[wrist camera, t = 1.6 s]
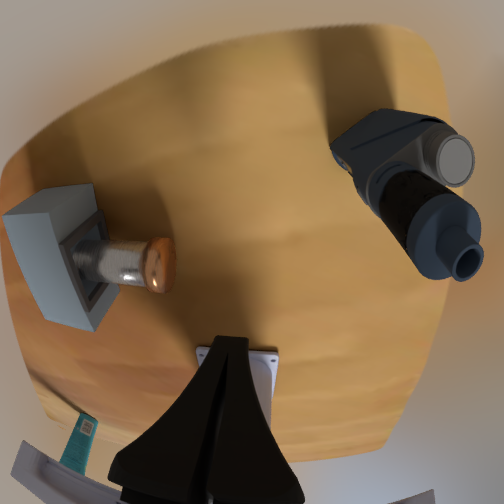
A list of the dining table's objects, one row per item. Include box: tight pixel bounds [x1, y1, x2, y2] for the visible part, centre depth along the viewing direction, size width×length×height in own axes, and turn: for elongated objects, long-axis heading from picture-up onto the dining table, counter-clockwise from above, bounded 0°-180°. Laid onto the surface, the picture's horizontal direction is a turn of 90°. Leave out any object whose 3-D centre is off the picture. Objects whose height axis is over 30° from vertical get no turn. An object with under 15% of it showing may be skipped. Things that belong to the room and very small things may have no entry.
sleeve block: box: [2, 183, 120, 332], centre depth 17 cm, size 6×10×5 cm, turn 179°
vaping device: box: [330, 109, 484, 282], centre depth 9 cm, size 3×5×12 cm, turn 133°
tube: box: [59, 413, 98, 476], centre depth 38 cm, size 7×5×19 cm, turn 80°
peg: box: [73, 237, 177, 294], centre depth 17 cm, size 7×4×4 cm, turn 89°
